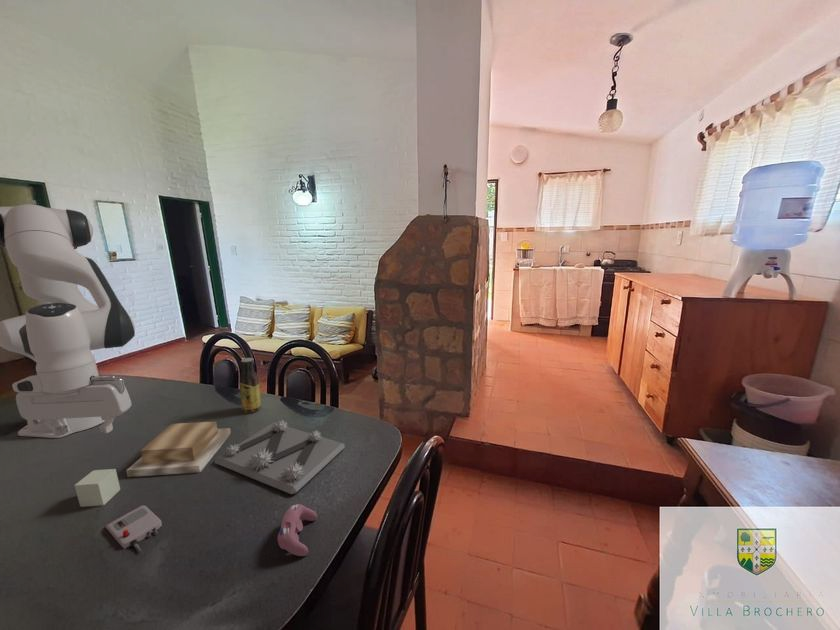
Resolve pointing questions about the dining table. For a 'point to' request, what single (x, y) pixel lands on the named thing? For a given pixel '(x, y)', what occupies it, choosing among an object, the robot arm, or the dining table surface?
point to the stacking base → (183, 464)
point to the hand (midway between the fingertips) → (84, 432)
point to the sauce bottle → (249, 387)
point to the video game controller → (294, 529)
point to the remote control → (134, 527)
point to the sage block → (97, 487)
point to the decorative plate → (281, 456)
